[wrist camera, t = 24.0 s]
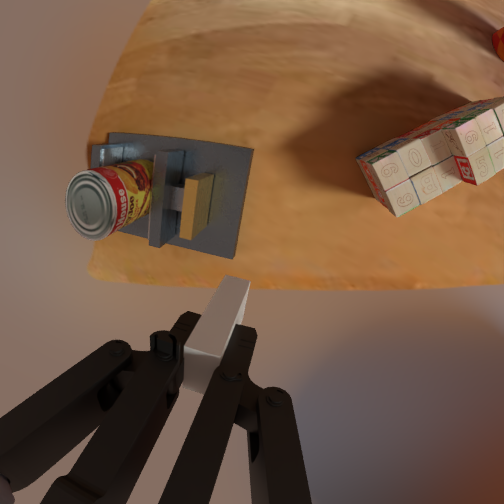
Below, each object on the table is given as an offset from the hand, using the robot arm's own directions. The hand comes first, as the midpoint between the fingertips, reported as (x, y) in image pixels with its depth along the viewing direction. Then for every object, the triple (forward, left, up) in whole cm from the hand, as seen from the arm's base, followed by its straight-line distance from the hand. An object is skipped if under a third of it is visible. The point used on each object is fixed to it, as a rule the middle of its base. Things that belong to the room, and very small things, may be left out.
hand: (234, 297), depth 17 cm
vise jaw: (-9, -7, -21) cm, 24 cm away
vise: (-11, -10, -22) cm, 27 cm away
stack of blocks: (+5, +23, -23) cm, 33 cm away
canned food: (-14, -12, -21) cm, 28 cm away
